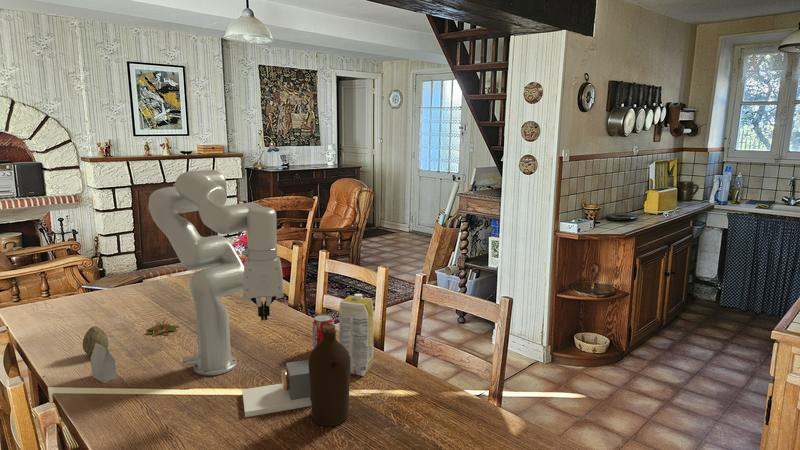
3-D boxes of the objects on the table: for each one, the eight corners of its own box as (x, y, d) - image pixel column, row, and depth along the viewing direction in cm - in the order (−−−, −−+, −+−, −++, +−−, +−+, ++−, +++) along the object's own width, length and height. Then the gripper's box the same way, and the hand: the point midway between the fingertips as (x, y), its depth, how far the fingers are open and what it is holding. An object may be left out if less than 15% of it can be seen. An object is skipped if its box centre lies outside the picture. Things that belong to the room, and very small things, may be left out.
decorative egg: (114, 353, 169) (111, 324, 167) (93, 362, 163) (90, 332, 161) (99, 349, 172) (96, 320, 170) (79, 357, 166) (75, 328, 164)
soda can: (330, 357, 168) (329, 322, 166) (309, 355, 170) (309, 320, 167) (337, 348, 175) (336, 314, 173) (317, 346, 177) (316, 312, 174)
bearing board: (245, 417, 134) (243, 386, 132) (242, 394, 145) (241, 366, 143) (347, 399, 143) (346, 370, 141) (337, 379, 154) (336, 352, 152)
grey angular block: (104, 383, 150) (100, 351, 148) (92, 376, 154) (88, 345, 152) (116, 378, 153) (113, 346, 151) (105, 372, 157) (101, 341, 155)
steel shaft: (284, 394, 140) (283, 375, 139) (281, 385, 145) (281, 366, 144) (337, 386, 145) (337, 367, 144) (332, 377, 150) (332, 359, 149)
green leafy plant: (185, 326, 194) (185, 314, 193) (169, 339, 182) (168, 327, 181) (155, 324, 195) (154, 313, 194) (136, 337, 183) (135, 325, 182)
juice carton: (375, 366, 162) (375, 293, 158) (365, 378, 155) (365, 302, 150) (348, 362, 165) (347, 290, 160) (337, 373, 158) (336, 298, 153)
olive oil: (359, 415, 135) (359, 325, 131) (329, 433, 128) (327, 338, 123) (331, 401, 142) (330, 315, 137) (301, 417, 134) (298, 326, 129)
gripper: (233, 259, 132) (235, 326, 136) (292, 256, 137) (293, 321, 141) (233, 251, 139) (235, 315, 143) (289, 249, 144) (290, 311, 148)
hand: (264, 318), depth 142 cm, fingers closed
